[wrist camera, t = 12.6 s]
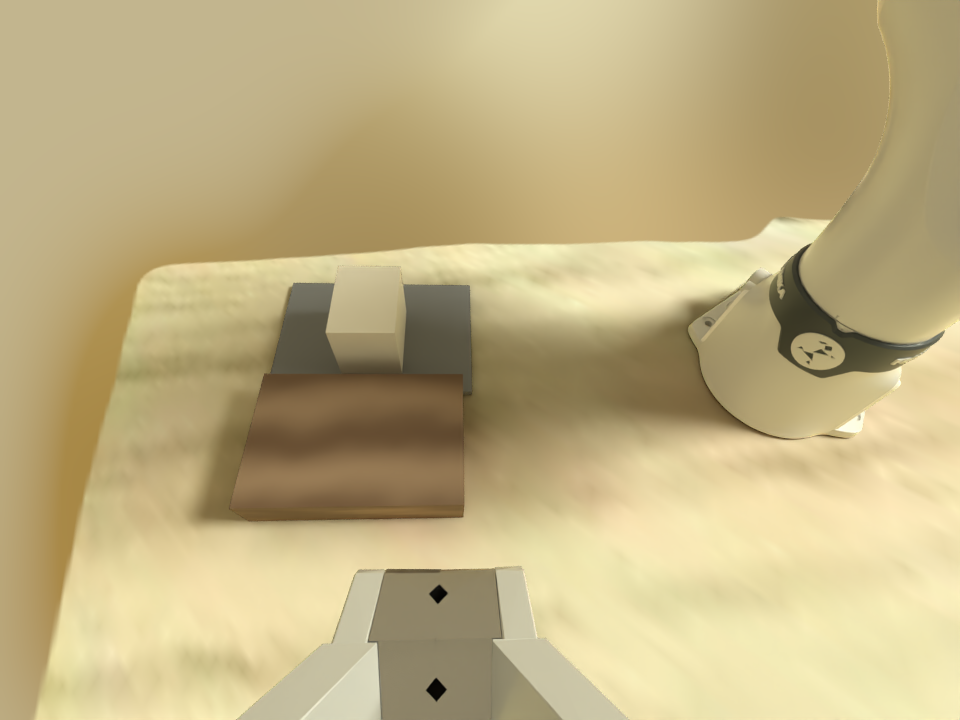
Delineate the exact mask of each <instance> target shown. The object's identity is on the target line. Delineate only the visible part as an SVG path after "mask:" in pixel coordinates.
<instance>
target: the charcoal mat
mask: <svg viewBox="0 0 960 720" xmlns="http://www.w3.org/2000/svg"><path fill="white" fill-rule="evenodd" d="M403 289H404V297H405V304H406V325H405V339H404V354H403V368H402V374H463V394H472V367H471V324H470V285H403ZM333 290H334V284H330V283H293V287H292V291H291V295H290V299H289V303H288V307H287V310H286V314H285V318H284V322H283V326H282V330H281V334H280V338H279V342H278V346H277V350H276V354H275V358H274V362H273V366H272V370H271V373H270V374H342V373H341V371H340V368H339V366H338V363H337V360H336V358H335V355H334V353H333V350H332V348H331V345H330V343H329V340H328V338H327V335H326V327H327V322H328V316H329V311H330V306H331V300H332V295H333Z"/></svg>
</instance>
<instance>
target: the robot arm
mask: <svg viewBox="0 0 960 720" xmlns="http://www.w3.org/2000/svg"><path fill="white" fill-rule="evenodd" d="M877 19H878V27H879V30H880V32H881V35H882V39H883V42H884V46H885V49H886V53H887V59H888V65H889V79H890V93H889V106H888V112H887V118H886V124H885V128H884V132H883V135H882V139H881V141H880V144H879V147H878V150H877V152H876V155H875V157H874V159H873V162H872V164H871V166H870V167H869V170H868V171H867V173H866V174H865V176H864V178H863V179H862V181H861V183H860V184H859V185H858V186H857V188H856V189H855V191H854V192H853V193H852V195H851V196H850V197H849V199H848V200H847V201H846V203H845V204H844V205H843V207H842V208H841V209H840V211H839V212H838V213H837V214H836V216H835V217H834V218H833V219H832V221H831V222H830V223H829V224H828V225H827V227H826V228H825V229H824V230H823V232H822V233H821V234H820V235H819V236H818V237H817V238H816V240H815V241H814V242H813V243H811V244H809V245H807V246H805V247H803V248H802V249H801V250H800V251H799V252H798V253H797V254H795V255H794V256H792V257H791V258H790V259H789V260H788V261H787V262H786V263H785V264H784V265H783V267H782V268H781V270H780V271H779V272H777V273H775V274H774V275H773V274H771V273H770V272H768V271H767V270H765V269H764V268H759V269H758V270H757V271H756V272H755V273H754V274H753V275H752V276H751V277H750V278H749V279H748V280H747V282H746V284H745V285H744V286H743V287H742V288H741V289H740V290H739V291H738V292H736V293H735V294H733V295H732V296H730V297H729V298H727V299H726V300H724V301H723V302H721V303H720V304H718V305H717V306H715V307H714V308H712V309H711V310H709V311H708V312H706V313H705V314H704V315H702V316H701V317H699V318H698V319H696V320H695V321H694V322H693V323H692V324H691V325H690V326H689V327H688V333H689V335H690V337H691V339H692V341H693V343H694V344H695V346H696V348H697V349H698V353H699V359H700V367H701V371H702V374H703V377H704V380H705V382H706V384H707V386H708V388H709V389H710V391H711V392H712V394H713V395H714V397H715V398H716V399H717V400H718V401H719V403H720V404H721V405H722V406H723V407H724V408H725V409H726V410H727V411H729V412H730V413H731V414H732V415H733V416H735V417H736V418H737V419H739V420H740V421H742V422H743V423H745V424H747V425H749V426H750V427H752V428H754V429H756V430H759V431H761V432H764V433H766V434H769V435H773V436H777V437H782V438H791V439H799V438H807V437H812V436H816V435H823V434H826V435H831V436H837V437H844V438H851V437H854V436H855V435H856V434H858V433H859V432H860V431H861V430H862V427H863V421H864V414H865V410H867V409H868V408H870V407H871V406H873V405H874V404H876V403H877V402H878V401H880V400H881V399H883V398H884V397H886V396H887V395H889V394H890V393H892V392H893V391H894V390H896V389H897V388H898V387H899V386H900V384H901V382H900V380H899V379H900V376H901V366H902V365H903V364H905V363H906V362H909V361H911V360H913V359H915V358H917V357H918V356H920V355H921V354H923V353H924V352H926V351H927V350H928V349H929V348H930V346H932V345H933V344H934V343H936V342H937V341H938V340H939V339H940V338H941V337H942V336H943V334H944V332H945V329H947V328H948V327H950V326H951V325H953V324H955V323H956V322H958V321H959V320H960V0H878V6H877ZM706 325H707V326H706ZM236 720H629V719H628V718H627V717H626V716H625V715H624V714H623V713H622V712H621V711H620V710H619V709H618V708H617V707H616V706H615V705H614V704H613V703H612V702H611V701H610V700H609V699H608V698H607V697H606V696H605V695H604V694H603V693H602V692H601V691H600V690H599V689H598V688H597V687H596V686H595V685H594V684H593V683H592V682H591V681H590V680H589V679H588V678H587V677H585V676H584V675H583V674H582V673H581V672H580V671H579V670H578V669H577V668H576V667H575V666H574V665H573V664H572V663H571V662H570V661H569V660H568V659H567V658H566V657H565V656H564V655H563V654H562V653H561V652H560V651H559V650H558V649H557V648H556V647H555V646H554V645H553V644H552V643H551V642H550V641H549V640H548V639H547V638H537V633H536V628H535V623H534V618H533V613H532V608H531V603H530V598H529V593H528V588H527V583H526V578H525V573H524V569H523V568H522V567H521V566H515V567H495V569H494V568H492V569H452V570H441V569H387V570H384V569H381V570H358V571H357V573H356V574H355V575H354V578H353V581H352V583H351V586H350V589H349V592H348V595H347V598H346V601H345V604H344V607H343V610H342V613H341V616H340V619H339V622H338V625H337V628H336V631H335V634H334V637H333V640H332V643H331V644H322V645H321V646H319V647H318V648H317V649H316V650H315V651H314V652H313V653H311V654H310V655H309V656H308V657H307V658H306V659H305V660H303V661H302V662H301V663H300V664H299V665H298V666H297V667H295V668H294V669H293V670H292V671H291V672H290V673H289V674H287V675H286V676H285V677H284V678H283V679H282V680H281V681H280V682H278V683H277V684H276V685H275V686H274V687H273V688H272V689H270V690H269V691H268V692H267V693H266V694H265V695H264V696H262V697H261V698H260V699H259V700H258V701H257V702H256V703H254V704H253V705H252V706H251V707H250V708H249V709H248V710H247V711H245V712H244V713H243V714H242V715H241V716H240V717H239V718H237V719H236Z"/></svg>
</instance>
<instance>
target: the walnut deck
mask: <svg viewBox="0 0 960 720" xmlns="http://www.w3.org/2000/svg"><path fill="white" fill-rule="evenodd" d="M229 509H230V510H232V511H234V512H235V513H237V514H238V515H240V516H241V517H243V518H245V519H246V520H248V521H279V520H335V519H392V518H448V517H463V513H464V436H463V374H264V377H263V381H262V384H261V388H260V392H259V396H258V400H257V404H256V407H255V411H254V415H253V419H252V423H251V426H250V430H249V434H248V438H247V442H246V445H245V449H244V453H243V457H242V461H241V464H240V468H239V472H238V476H237V480H236V484H235V487H234V491H233V495H232V499H231V503H230V506H229Z"/></svg>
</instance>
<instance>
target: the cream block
mask: <svg viewBox="0 0 960 720" xmlns="http://www.w3.org/2000/svg"><path fill="white" fill-rule="evenodd" d="M405 325H406V304H405V297H404V289H403V281H402V274H401V267H399V266H338V268H337V274H336V279H335V284H334V290H333V295H332V300H331V306H330V311H329V316H328V322H327V327H326V335H327V338H328V340H329V343H330V345H331V348H332V350H333V353H334V355H335V358H336V360H337V363H338V366H339V368H340V371H341V373H342V374H402V368H403V354H404V339H405Z"/></svg>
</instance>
